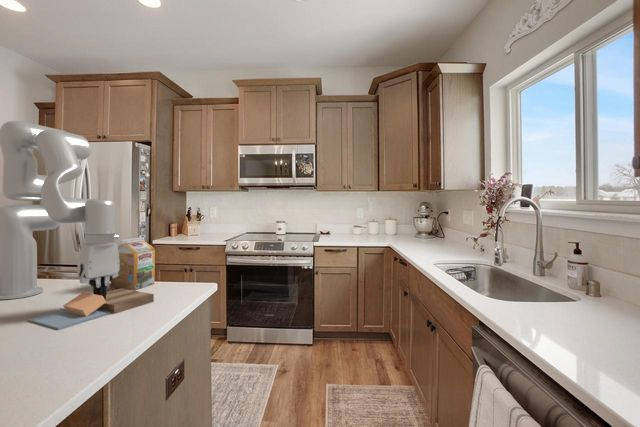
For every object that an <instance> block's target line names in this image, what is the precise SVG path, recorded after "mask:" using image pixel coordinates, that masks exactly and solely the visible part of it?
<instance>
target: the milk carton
mask: <svg viewBox="0 0 640 427" xmlns="http://www.w3.org/2000/svg"><path fill="white" fill-rule="evenodd" d="M117 246H118V251H119V260H120V269H119V272H118V274H119V275H118V277H115V278H113V279H112V280H111V281H110V282H109V284H110V288H109V289H111V290H117V289H121V288H122V289H128V290H133V291H139V290H140V289H144V288H146V287H151V286H153V285H155V283H154V282H156V281H155V278H156V276H155V274H156V272H155V271H156V270H155V268H156V261H155V260H156V258H155V257H156V250H155V248H154V247H153V246H152V245H151V244H149V243H148V242H146V241H145V237H144V236H143V237H133V238H126V239H122V240H121V243H120V244H119V245H117Z"/></svg>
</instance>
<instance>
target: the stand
mask: <svg viewBox="0 0 640 427" xmlns="http://www.w3.org/2000/svg"><path fill="white" fill-rule="evenodd" d="M154 296H155V294H154V293H149V292H144V291H139V290H135V291H133V290H128V289H122V288H121V289H112V290H109V291H107V294H106V299H105V301H106V303H104V304H103V305H102V306H100V307H99V308H98V309H101V310H106V311H110V312H112V314H113V315H115V314H119V313H122V312H125V311H128V310H130V309H135V308H137V307H141V306H144V305H148V304H150V303H153V302H155V298H154Z"/></svg>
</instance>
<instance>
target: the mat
mask: <svg viewBox="0 0 640 427" xmlns="http://www.w3.org/2000/svg"><path fill="white" fill-rule="evenodd" d="M112 314H113V313H112V312H110V311H106V310H101V309H96V310H95V311H93V312H92V313H91V314H89V315H88V316H87V317H86V316H82V315H78V314H74V313H70V312H67V311H66V309H62V310H59V311H56V312H52V313H48V314H43V315H40V316H36V317H32V318H31V317H30V318H29V319H28V320H27V321H28V322H31V323H34V324H37V325H41V326H44V327H47V328H50V329H54V330H57V331H58V330H62V329H65V328H69V327H73V326H75V325H79V324H81V323H85V322H88V321H92V320H96V319H99V318H101V317H105V316H108V315H112Z"/></svg>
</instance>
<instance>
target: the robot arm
mask: <svg viewBox="0 0 640 427" xmlns="http://www.w3.org/2000/svg"><path fill="white" fill-rule="evenodd" d="M30 149H31V150H37V151H39V153H40V155H41V158H42V160H43V163H44V165H45V167H46V170H47V172H48V175H46V174H45V175H43V174H42V175H41V174H39V173H38V172H39V171H38V170H39V169H38V168H39V167H38V166H39V163H38V159H37V158H36V156H35V155H34V154H33V153H32V151H31V150H30ZM0 150H1V152H2V158H3V160H2V161H3V164H2V186H1V187H2V194H3V195H4V197H5V198H6V199H8V200H12V201H21V202H22V201H23V202H40V203H39V204H27V203H26V204H23V203H19V204H18V203H17V204H16V203H14V204H7V205H2V206H0V300H15V299H22V298H28V297H31V296H35V295H39V294H41V293H42V292H43V291H44V288H43V287H41V286H38V244H37V241H36V239H35V238H34V237H33V236H32V235H31V233H30V232H37V231H39V232H40V231H51V230H55V229H56V228H58V227H59V225H60V224H73V223H74V224H75V223H83V224H84V244H82V245H81V246H80V250H79V253H78V259H77V269H76V273H77V277H78V278H79V283H80V284H87V285H88V284H89V285H90V286H91V287H92V294H96V295H101V296H103V297H104V299H106V294H107V292H108V289H107V288H108V286H109V284H110V281H111V280H112V279H113V278H115V277H118V275H119V274H118V272H119V269H120V260H119V251H118V246H119V245H118V243H116V240H117V239H119V235H118V234H116V204H115V202H114V200H110V199H97V198H96V199H93V198H80V197H79V198H76V197H63V193H64V192H63V186H62V184H64V183H67V182H71V181H74V180H76V179H77V178H78V179H79V177H80V176H81V175H82V174H83V168H82V165H81V164H80V160H81V161H82V160H87V158H89V157H90V155H91V153H92V148H91V144H90V142H89V141H88V139H86V137H84V136H83V135H79V134H76V133H71V132H70V131H67V130H63V129H58V128H54V127H49V126H45V125H40V124H36V123H31V122H27V121H20V120H9V121H6V122H4V123H3V124H2V125H1V127H0Z"/></svg>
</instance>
